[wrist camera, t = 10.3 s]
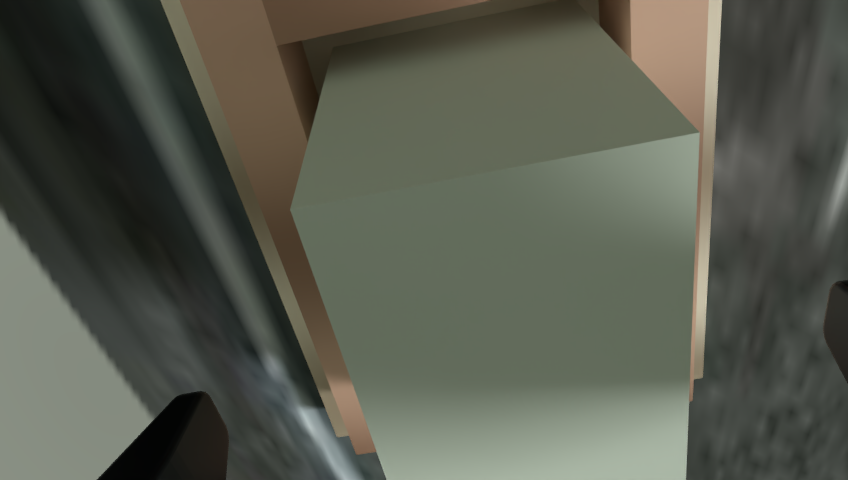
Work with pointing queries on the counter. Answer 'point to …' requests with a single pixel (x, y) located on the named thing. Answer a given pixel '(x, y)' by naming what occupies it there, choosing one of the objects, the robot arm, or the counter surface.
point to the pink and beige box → (299, 96)
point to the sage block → (506, 249)
